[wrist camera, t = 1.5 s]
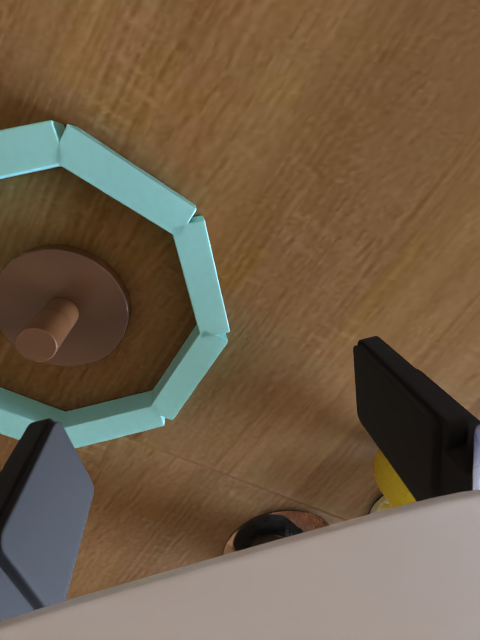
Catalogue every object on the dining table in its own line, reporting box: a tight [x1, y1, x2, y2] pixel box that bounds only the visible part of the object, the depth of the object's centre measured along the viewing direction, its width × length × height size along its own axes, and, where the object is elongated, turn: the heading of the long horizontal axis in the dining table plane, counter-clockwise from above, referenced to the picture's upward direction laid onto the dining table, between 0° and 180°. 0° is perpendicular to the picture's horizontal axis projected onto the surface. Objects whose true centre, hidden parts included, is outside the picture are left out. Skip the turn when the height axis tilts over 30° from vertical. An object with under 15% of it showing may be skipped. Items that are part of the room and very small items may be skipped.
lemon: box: [374, 449, 417, 508], centre depth 29 cm, size 6×6×8 cm
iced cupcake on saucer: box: [223, 510, 329, 555], centre depth 36 cm, size 12×10×10 cm
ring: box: [0, 120, 230, 448], centre depth 22 cm, size 20×20×2 cm
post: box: [0, 245, 130, 367], centre depth 21 cm, size 8×8×6 cm
